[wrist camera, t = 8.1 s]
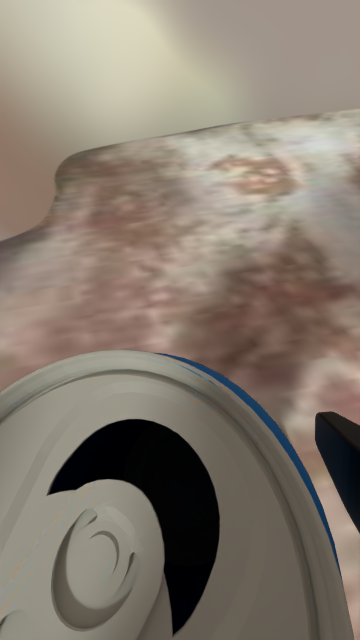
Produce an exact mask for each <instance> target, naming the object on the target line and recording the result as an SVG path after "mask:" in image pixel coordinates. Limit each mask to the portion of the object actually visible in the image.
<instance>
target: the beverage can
mask: <svg viewBox="0 0 360 640" xmlns="http://www.w3.org/2000/svg"><path fill="white" fill-rule="evenodd" d="M0 640H354V634H353V630H352V625H351V620H350V615H349V611H348V606H347V601H346V597H345V592H344V587H343V581H342V577H341V572H340V567H339V563H338V558H337V553H336V549H335V544H334V541H333V538H332V534H331V531H330V528H329V525H328V522H327V519H326V516H325V513H324V509H323V506H322V504H321V502H320V500H319V497H318V495H317V493H316V490H315V488H314V486H313V483H312V481H311V479H310V477H309V474H308V473H307V471H306V469H305V467H304V466H303V464H302V462H301V460H300V458H299V457H298V455H297V453H296V451H295V450H294V448H293V446H292V445H291V444H290V442H289V441H288V439H287V438H286V436H285V435H284V434H283V432H282V431H281V429H280V428H279V427H278V425H277V424H276V423H275V422H274V420H273V419H272V418H271V417H270V416H269V415H268V414H267V413H266V412H265V410H264V409H263V408H262V407H261V406H260V405H259V404H258V403H257V402H256V401H255V400H254V399H253V398H251V397H250V396H249V395H248V394H247V393H246V392H245V391H244V390H242V389H241V388H240V387H238V386H237V385H236V384H234V383H233V382H231V381H230V380H228V379H227V378H225V377H224V376H223V375H221V374H219V373H217V372H215V371H213V370H211V369H209V368H207V367H206V366H204V365H201V364H198V363H196V362H193V361H190V360H188V359H185V358H181V357H177V356H172V355H168V354H162V353H151V352H146V351H136V350H102V351H96V352H90V353H84V354H80V355H76V356H73V357H69V358H66V359H62V360H59V361H57V362H55V363H52V364H50V365H47V366H45V367H42V368H40V369H38V370H36V371H34V372H32V373H31V374H29V375H27V376H25V377H23V378H21V379H19V380H18V381H16V382H15V383H13V384H12V385H10V386H9V387H7V388H6V389H4V390H3V391H1V392H0Z"/></svg>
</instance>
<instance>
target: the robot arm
mask: <svg viewBox="0 0 360 640" xmlns="http://www.w3.org/2000/svg"><path fill="white" fill-rule="evenodd" d="M315 441H316V445H317V447H318V450H319V452H320V454H321V456H322V458H323V461H324V463H325V465H326V467H327V469H328V472H329V474H330V476H331V478H332V480H333V482H334V485H335V487H336V489H337V491H338V493H339V496H340V498H341V500H342V502H343V504H344V506H345V508H346V510H347V512H348V514H349V516H350V517H351V519H352V521H353V523H354V525H355V526H356V528H357V530H358V532H359V533H360V425H358V424H356V423H354V422H352V421H350V420H348V419H346V418H345V417H343V416H341V415H339V414H337V413H335V412H331V411H330V412H319V413H317V414H316V417H315Z"/></svg>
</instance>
